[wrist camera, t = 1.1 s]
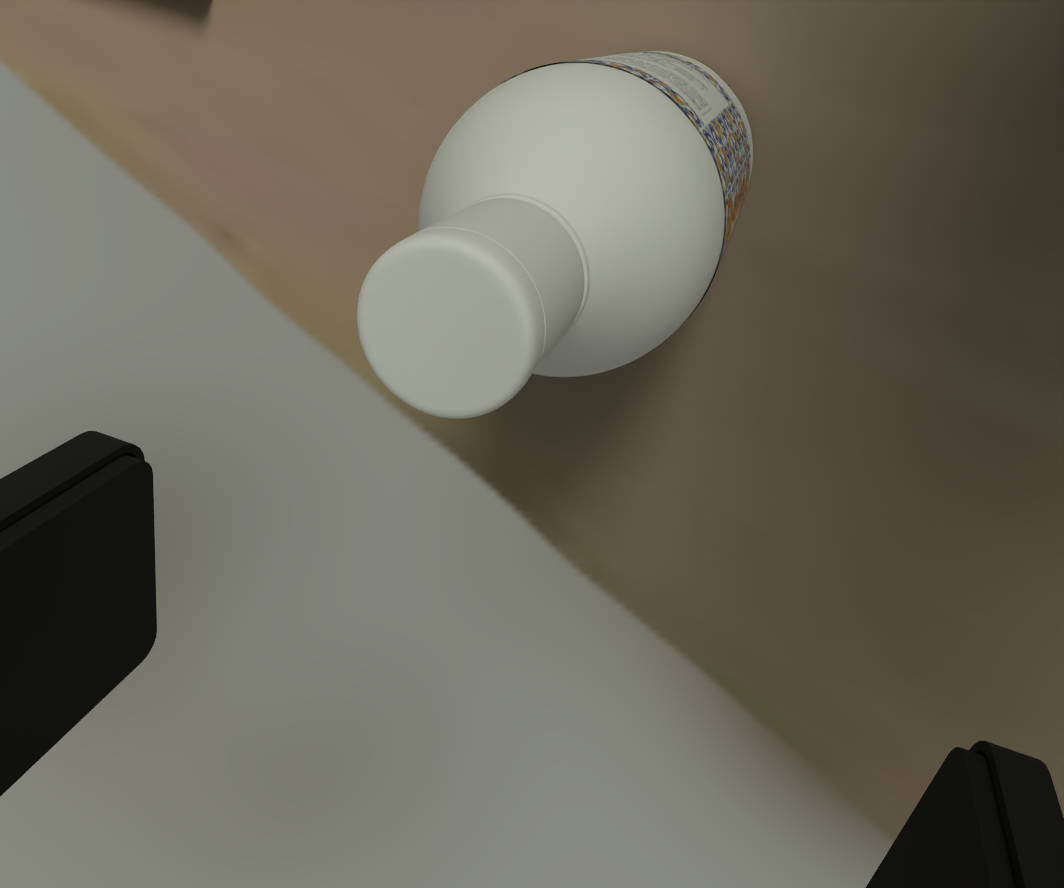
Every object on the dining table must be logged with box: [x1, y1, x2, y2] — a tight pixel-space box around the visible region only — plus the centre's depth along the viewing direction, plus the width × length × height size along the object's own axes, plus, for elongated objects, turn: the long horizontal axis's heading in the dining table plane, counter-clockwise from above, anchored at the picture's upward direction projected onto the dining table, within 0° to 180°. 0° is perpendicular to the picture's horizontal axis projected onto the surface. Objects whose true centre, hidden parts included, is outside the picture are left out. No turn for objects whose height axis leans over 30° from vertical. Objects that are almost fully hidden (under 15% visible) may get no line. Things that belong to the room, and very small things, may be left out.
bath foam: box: [357, 51, 753, 419], centre depth 22 cm, size 7×7×20 cm
